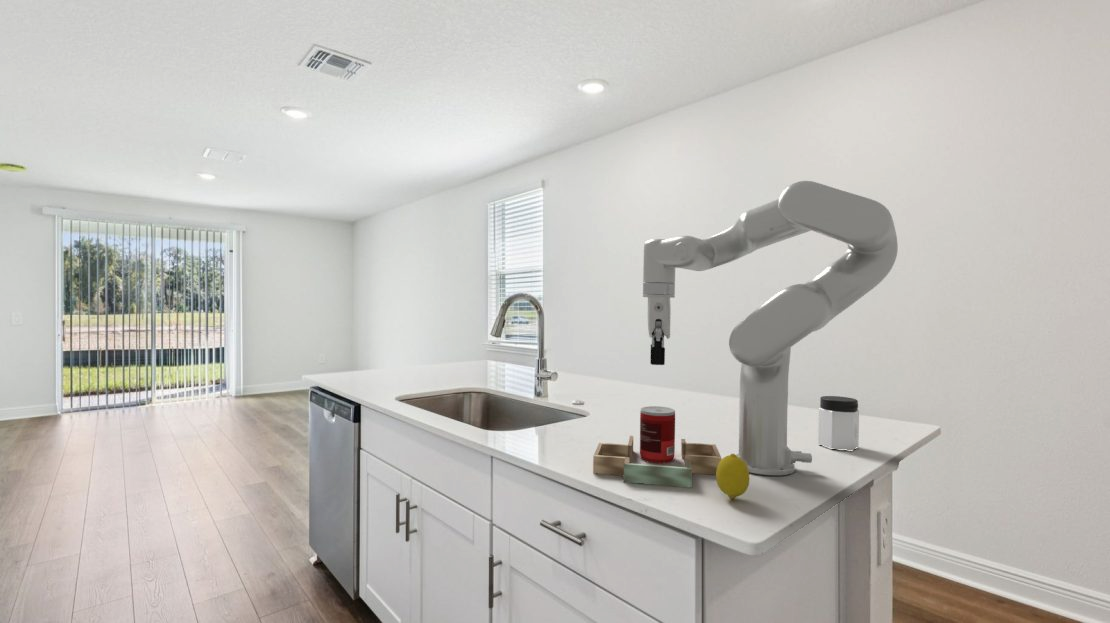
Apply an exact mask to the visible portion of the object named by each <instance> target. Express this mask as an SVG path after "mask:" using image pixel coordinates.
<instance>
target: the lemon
mask: <svg viewBox="0 0 1110 623" xmlns="http://www.w3.org/2000/svg"><path fill="white" fill-rule="evenodd" d="M736 455H737V454H735V453H730V455H729V454H728V455H725V456H724V457H722V458H721V461H720V462H719V464H718V467H717V472H716V475H715V477H716V483H717V486H718V488H719V490H720V491H721V492H722V493H723V494H725V495H727V496H728V497H729V499H730V500H734V499H736V498H737V497H740V496H742V495H744V494H745V493H746V492H747V490H748V488H749V486H750V472H749V470H748V467H747V465H746V463H745V462H744V461H743V460H742V459H741V458H739V457H738V456H736Z"/></svg>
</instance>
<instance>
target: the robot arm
mask: <svg viewBox="0 0 1110 623" xmlns="http://www.w3.org/2000/svg"><path fill="white" fill-rule="evenodd" d="M811 231H813V232H815V233H818V234H820V235H823V236H826V237H828V238H831V239H834V240H837V241H839V242H842V243H845V244H847V249H846V251H845V253H844V254H842V256H840V258H838V259H836V260H835V261H834V262H832V263H830V264H828V266H827V267H825V268H824V269H822V271H821V272H819V273H818V274H817V275H815V276H813V277H812V278H811V279H810V280H808V281H807V282H806V283H797V284H792V285H789V286H786V287H785V288H784V289H781V290H780V291H779V292H777V293H776V294H775V295H773V296H772V297H771V298H769V299H768V300H767V301H765V303H763V304H762V305H761V306H759V307H758V308H756V309H755V310H754V311H753V312H751V313H750V314H749V315H747V316H746V317H745V318H744V319H743V320H741V321H740V322H739V323H738V324H736V325H735V327H734V328H733V329H732V331H731V333H730V335H729V339H728V340H729V341H728V346H729V350H730V353H731V355H732V356H733V358H734V359H735V360H736V361H738V362H739V363H740V364H741V365H740V366H741V367H740V376H739V377H740V378H739V402H738V403H739V404H738V405H739V411H738V412H739V413H738V414H739V415H738V417H739V418H738V454H737V453H736V454H735V455H736V456H738V457H739V458H741V459H742V460H743V461H744V462H745V463H746V465H747V467H748V470H749V474H757V475H763V476H786V475H791V474H793V473H794V472H795V469H796V468H795V467H796V465H795V464H796V462H799V463H800V462H801V463H805V464H812V462H813V455H812V453H811V452H810V453H809V452H802V451H801V450H791V449H790V447H788V409H789V408H788V407H789V406H788V403H789V402H788V400H789V399H788V398H789V397H788V396H789V373H790V371H789V370H790V362H791V361H790V360H791V349H792V348H791V347H794V345H796V344H797V343H799V342H800V341H801V340H803V339H805V338H806V337H808V336H809V335H810V334H811V333H813V332H817V331H818V330H821V329H822V328H824V327H826V325H827V324H829V323H830V322H831V321H832V320H833V319H834V318H836V317H837V316H839V315H840V314H841V313H843V312H844V311H846V309H848V308H849V307H851V306H852V305H854V303H856V302H857V301H859V300H860V299H861V298H863V297H864V296H865V295H866V294H868V293H869V292H870V291H872V290H873V289H874V288H876V287H877V286H878V285H879V284H880V283H881V282H883V281H884V279H885V278H886V277H887V276H888V275H889V274H890V272H891V270H892V269H893V266H894V264H895V262H896V260H897V256H898V247H899V246H898V245H899V244H898V238H897V232H896V227H895V222H894V220H893V216H892V213H891V212H890V210H889V209H888V208H887V207H886V206H885V205H884V204H882V203H881V202H879V201H877V200H874V199H872V198H870V197H865V196H862V195H858V194H856V193H852V192H848V191H845V190H842V189H839V188H836V187H833V186H830V185H826V184H823V183H820V182H816V181H813V180H800V181H797V182H793V183H792V184H790V185H788V186H787V187H786V188H784V190H783V191H782V193H781V194H780V196H779V198H778V199H776V200H772V201H770V202H768V203H766V204H763V205H761V206H758V207H757V206H756V207H755V208H752V209H749V210H747V211H745V212H743V213H742V214H741V215H740V216H739V217H738V219H737V220H736V222H735V223H734V224H733V225H732V226H731V227H729V228H728V229H726V230H724V231H722V232H718V234H714V235H712V236H709V237H706V238H704V239H701V238H698V237H695V236H692V235H682V236H677V237H671V238H655V239H649V240H647V241H645V243H644V245H643V268H642V269H643V273H642V274H643V275H642V276H643V277H642V278H643V279H642V280H643V281H642V297H643V298H647V330H648V331H647V332H648V337H649V338H650V339H651V343H650V365H653V366H665V362H666V360H665V359H666V358H665V356H666V351H665V350H666V347H665V337H666V339H667V340H669V339H670V338H671V315H672V313H671V308H672V307H671V298H672V299H673V298H675V295H676V294H675V293H676V291H675V290H676V268H677V269H683V270H689V271H695V272H702V271H703V272H704V271H706V270H707V271H708V270H711V269H714V268H717V267H720V266H723V265H725V264H729V263H731V262H733V261H734V262H735V261H736V260H738V259H740V258H743V257H745V256H747V255H749V254H752V253H753V252H755V251H757V250H759V249H762V248H765V247H768V246H771V245H774V244H776V243H779V242H783V241H785V240H788V239H791V238H793V237H796V236H799V235H802V234H805V233H808V232H811Z"/></svg>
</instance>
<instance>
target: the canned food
mask: <svg viewBox="0 0 1110 623" xmlns="http://www.w3.org/2000/svg"><path fill="white" fill-rule="evenodd" d="M639 414H640V418H639V422H640V423H639V424H640V425H639V454H640V455H639V456H640V458H641V460H642V461H644V460H645V462H647V461H648V462H647V463H651V462H653V464H669V463H671V462H673V461H674V459H675V452H676V451H675V449H676V448H675V447H676V444H675V442H676V441H675V439H676V410H675V409H674V408H671V407H667V406H666V407H665V406H655V405H651V406H650V405H649V406H644V407H641V408H640V412H639ZM668 462H669V463H668Z"/></svg>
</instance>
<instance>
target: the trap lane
mask: <svg viewBox="0 0 1110 623" xmlns="http://www.w3.org/2000/svg"><path fill="white" fill-rule="evenodd" d="M680 440H681V442H680V443H681V444H680V446H681V450H680V452H681V454H680V455H681V459H682V460H684V466H672V465H658V464H647V463H646V464H641V463H632V460H633V453H634V435H629V439H628V443H627V444H626V443H625V444H624V443H623V444H622V443H612V442H610V443H609V442H598V445H597V447H596V449H595V451H594V453H593V458H592V459H593V460H592V461H593V462H592V474H596V473H598V474H599V475H609V474H613V475H612V476H622V475H624V476H623V483H626V482H630V484H638V483H644V484H643V485H651V484H657V485H656V486H665V487H676V488H677V487H678V488H688V489H689V488H690V489H692V486H693V485H692V483H693V481H692V476H693V475H692V474H697V475H698V474H700V475H703V474H704V475H712V474H714V475H713V476H716V472H717V467H718V464H719V462H720V461H721V460H722V455H721V454H720V451H719V449H718V446H717V445H716V444H715V443H714V444H713V443H698V442H686V439H685V438H681V439H680ZM630 462H631V463H630Z"/></svg>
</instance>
